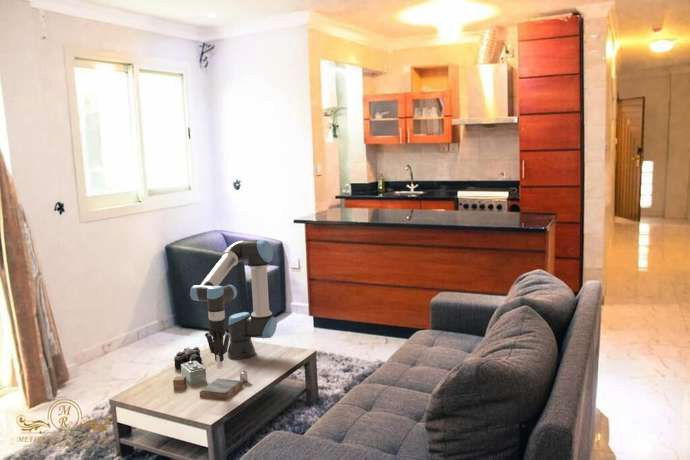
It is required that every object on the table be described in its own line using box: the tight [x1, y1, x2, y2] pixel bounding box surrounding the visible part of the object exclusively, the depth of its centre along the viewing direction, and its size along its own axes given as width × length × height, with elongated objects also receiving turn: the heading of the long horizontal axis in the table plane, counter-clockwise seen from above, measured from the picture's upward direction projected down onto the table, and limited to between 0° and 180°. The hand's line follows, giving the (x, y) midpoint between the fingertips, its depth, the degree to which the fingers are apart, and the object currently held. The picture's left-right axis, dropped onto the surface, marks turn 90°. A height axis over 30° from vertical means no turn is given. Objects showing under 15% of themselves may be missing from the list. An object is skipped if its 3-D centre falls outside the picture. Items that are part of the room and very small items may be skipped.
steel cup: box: [239, 370, 249, 384], centre depth 284 cm, size 4×4×5 cm
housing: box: [180, 361, 207, 386], centre depth 290 cm, size 8×14×8 cm, turn 34°
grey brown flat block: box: [199, 378, 244, 401], centre depth 273 cm, size 16×14×3 cm
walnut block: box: [172, 375, 188, 391], centre depth 280 cm, size 5×5×5 cm
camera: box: [174, 346, 203, 371], centre depth 308 cm, size 16×10×10 cm, turn 142°
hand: (219, 367), depth 272 cm, fingers closed
